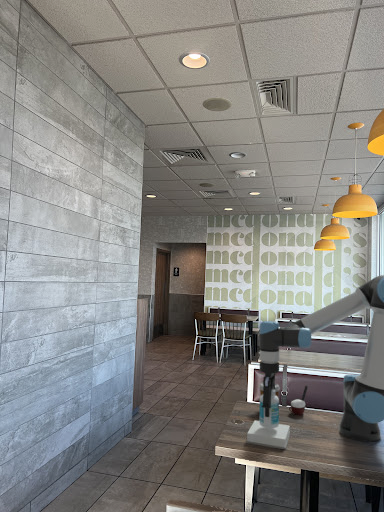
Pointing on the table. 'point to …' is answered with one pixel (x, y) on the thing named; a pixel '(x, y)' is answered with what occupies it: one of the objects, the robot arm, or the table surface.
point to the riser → (269, 435)
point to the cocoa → (298, 404)
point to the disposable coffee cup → (275, 389)
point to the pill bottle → (273, 411)
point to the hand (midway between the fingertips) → (269, 421)
